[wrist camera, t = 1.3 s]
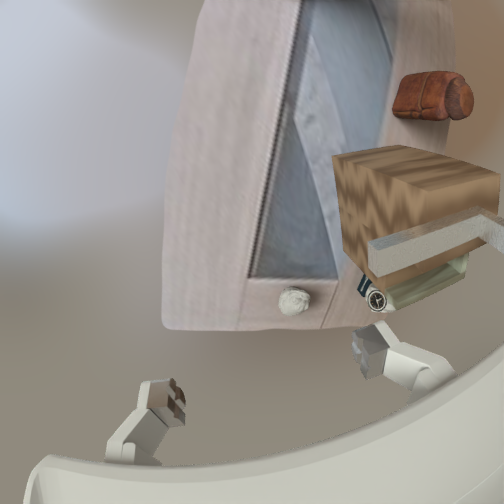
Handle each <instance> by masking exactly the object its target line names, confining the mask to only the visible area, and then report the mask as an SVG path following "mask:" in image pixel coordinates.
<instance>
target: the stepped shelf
mask: <svg viewBox="0 0 504 504" xmlns="http://www.w3.org/2000/svg"><path fill="white" fill-rule="evenodd" d="M332 162H333V168H334V175H335V181H336V188H337V196H338V203H339V212H340V220H341V230H342V240H343V251H344V252H345V253H346V254H347V255H348V256H349V257H350V258H351V259H352V260H353V262H354V263H355V264H356V265H357V266H358V267H359V268H360V269H361V270H362V271H363V272H364V274H365V275H366V276H367V277H368V278H369V279H370V280H371V281H372V283H373V284H374V285H375V286H376V287H377V288H378V289H379V290H380V292H381V293H382V294H383V295H384V296H385V297H386V299H387V300H388V301H389V302H390V303H391V304H392V306H393V307H394V308H395V309H396V310H399V309H401V308H403V307H406V306H408V305H410V304H412V303H415V302H417V301H419V300H421V299H423V298H425V297H428V296H430V295H432V294H434V293H436V292H438V291H440V290H442V289H444V288H446V287H448V286H450V285H452V284H454V283H456V282H458V281H459V280H461V279H463V278H464V277H465V271H466V266H467V261H468V256H469V252H470V251H472V250H474V249H476V248H478V247H480V246H482V245H484V244H486V243H487V242H485V241H484V240H482V239H480V238H479V237H476V238H474V239H472V240H470V241H468V242H465V243H463V244H461V245H459V246H456V247H454V248H452V249H449V250H447V251H445V252H442V253H440V254H438V255H435V256H433V257H430V258H428V259H425V260H423V261H420V262H418V263H415V264H413V265H410V266H408V267H405V268H403V269H400V270H397V271H395V272H392V273H389V274H387V275H384V276H381V277H378V278H377V276H376V275H375V274H374V273H373V272H372V271H371V270H370V269H369V268H368V241H371V240H375V239H378V238H381V237H384V236H387V235H391V234H394V233H397V232H400V231H403V230H406V229H409V228H413V227H416V226H419V225H422V224H425V223H428V222H431V221H434V220H437V219H440V218H443V217H446V216H449V215H452V214H455V213H458V212H461V211H464V210H467V209H470V208H473V207H475V206H480V207H482V208H484V209H486V210H488V211H489V212H491V213H493V214H495V215H497V213H498V205H499V192H500V174H498V173H496V172H493V171H491V170H488V169H485V168H482V167H479V166H476V165H473V164H470V163H467V162H464V161H460V160H457V159H454V158H450V157H447V156H443V155H440V154H436V153H432V152H428V151H424V150H420V149H416V148H411V147H407V146H402V145H395V146H388V147H381V148H374V149H368V150H362V151H356V152H351V153H345V154H340V155H334V156H332Z"/></svg>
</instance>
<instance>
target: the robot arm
mask: <svg viewBox="0 0 504 504" xmlns="http://www.w3.org/2000/svg"><path fill="white" fill-rule="evenodd" d="M352 339H353V340H354V341H353V343H352V352H353V356H354V359H355V361H356V362H357V363H359V364H361V368H360V369H361V372H362V374H363V375H364V377H365V379H366V380H368V379H371V378H373V377H376V376H378V375H380V374H383V375H385V376H386V377H388V378H390V379H391V380H393V381H395V382H396V383H398V384H400V385H401V386H403V387H405V388H407V389H408V390H410V391H412V392H411V394H410V397H409V399H408V401H407V404H408V406H406V407H404V408H402V409H400V410H398V411H395V412H394V413H391V414H389V415H387V416H385V417H383V418H380V419H378V420H376V421H374V422H371V423H369V424H366V425H364V426H362V427H359V428H356V429H354V430H351V431H348V432H346V433H343V434H340V435H338V436H335V437H331V438H328V439H325V440H323V441H319V442H316V443H312V444H309V445H305V446H302V447H298V448H294V449H290V450H286V451H282V452H278V453H273V454H269V455H264V456H258V457H253V458H247V459H241V460H235V461H227V462H218V463H209V464H197V465H180V466H179V465H178V466H162V463H161V462H160V461H158V460H157V459H155V458H154V457H152V456H153V455H154V453H155V451H156V450H157V448H158V446H159V444H160V443H161V441H162V439H163V438H164V436H165V434H166V433H167V431H168V429H169V427H178V426H185V413H184V412H183V411H182V410H183V409H184V407H185V405H186V401H185V396H184V393H183V391H182V390H181V388H179V387H177V386H176V381H175V380H174V379H173V378H170V379H162V380H152V381H144V382H142V384H141V387H140V392H139V398H138V404H137V410H134V411H133V412H132V413H131V414H130V415H129V416H128V418H127V419H126V420H125V421H124V422H123V424H122V425H121V426H120V427H119V428H118V430H117V431H116V432H115V433H114V434H113V435H112V437H111V438H110V439H109V440H108V442H107V449H106V455H105V461H104V463H102V462H94V461H87V460H81V459H75V458H70V457H64V456H60V455H55V454H50V455H48V456H46V457H45V458H44V459H43V460H42V461H41V462H40V463H39V464H38V465H37V466H36V467H35V468H34V469H33V470H32V472H31V474H30V477H29V480H28V483H27V487H26V492H25V496H24V502H23V504H504V342H502V343H501V344H500V345H499V346H498V347H497V348H495V349H494V350H493V351H491V352H490V353H489V354H488V355H487V356H485V357H484V358H482V359H481V360H480V361H478V362H477V363H476V364H474V365H473V366H472V367H470V368H469V369H467V370H466V371H464V372H463V373H462V374H460V375H459V376H458V375H457V374H456V372H455V371H454V369H453V368H452V367H451V366H450V364H449V363H448V362H447V360H446V359H445V358H444V357H442V356H439V355H437V354H434V353H431V352H429V351H426V350H424V349H421V348H418V347H416V346H413V345H411V344H408V343H406V342H402V343H401V342H400V341H399V340H398V338H397V337H396V336H395V334H394V333H393V332H392V330H391V329H390V328H389V326H388V325H387V324H386V322H385V321H383V320H381V321H378V322H376V323H373V324H370V325H368V326H365V327H363V328H360V329H358V330H355V331H353V332H352Z"/></svg>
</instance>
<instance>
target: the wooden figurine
mask: <svg viewBox="0 0 504 504" xmlns="http://www.w3.org/2000/svg"><path fill="white" fill-rule="evenodd" d="M473 105H474V97H473V93H472V90H471V88H470V87H469V86H468V84H467V83H466V82H465V79H464V78H463V76H461V75H459V74H458V73H455V72H448V71H432V72H423V73H416V74H411V75H406V76H405V77H404V78H403V79H402V81H401V83H400V86H399V90H398V93H397V96H396V98H395V101H394V104H393V108H392V111H393V114H394V115H395V116H396V117H399V118H407V119H422V120H431V121H441V120H445V119H447V118H448V117H450V118H451V119H452V120H461V119H464V118H466V117H468V116H469V115H470V114H471V112H472V110H473Z"/></svg>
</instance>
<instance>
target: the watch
mask: <svg viewBox="0 0 504 504" xmlns="http://www.w3.org/2000/svg"><path fill="white" fill-rule="evenodd" d="M357 290H358V291H359V293H360V294H361V295H362V296H363V297H366V300H367V303H368V306H369V307H370V309H371V311H372V312H374V311H375V312H384V313H386V312H394V311H396V309H395V308H394V307H393V306H392V304H391V303H390V302H389V301H388V300H387V299H386V297H385V296H384V295H383V294H382V293H381V292H380V290H379V289H378V288H377V287H376V286H375V285H374V284H373V283H372V281H371V280H370V279H369V278H368V277H367V276H366V275H365V274H364V275H363V278H362V280H361V282H360V284H359V286H358V289H357Z"/></svg>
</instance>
